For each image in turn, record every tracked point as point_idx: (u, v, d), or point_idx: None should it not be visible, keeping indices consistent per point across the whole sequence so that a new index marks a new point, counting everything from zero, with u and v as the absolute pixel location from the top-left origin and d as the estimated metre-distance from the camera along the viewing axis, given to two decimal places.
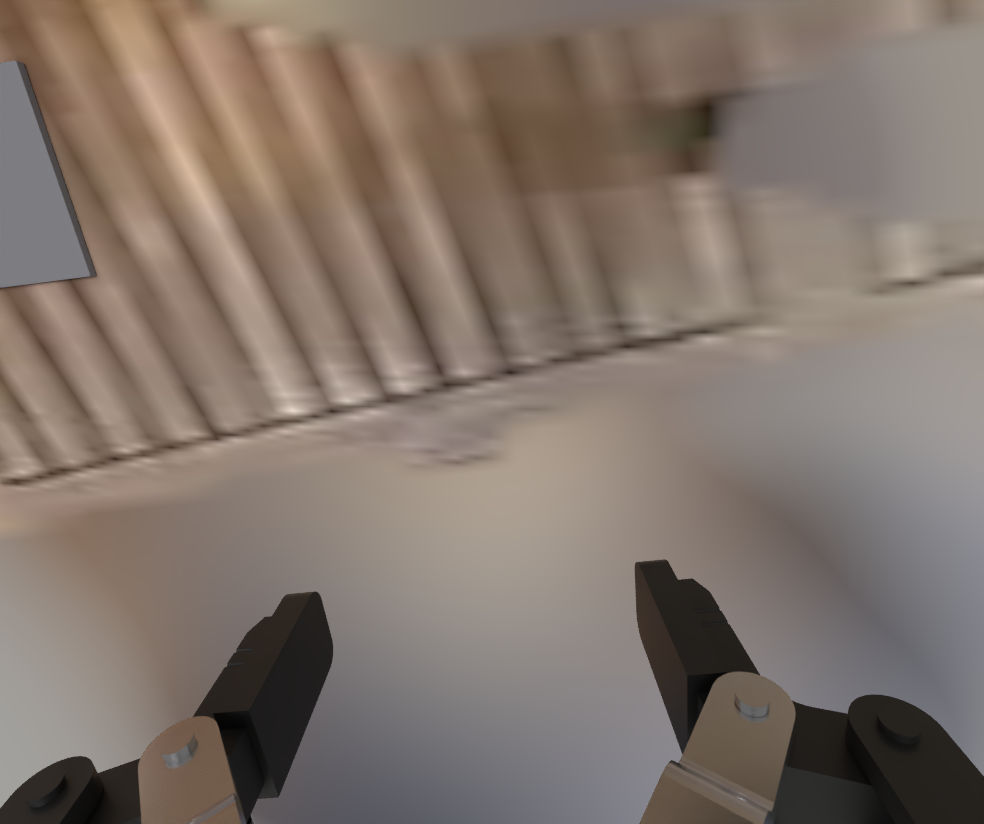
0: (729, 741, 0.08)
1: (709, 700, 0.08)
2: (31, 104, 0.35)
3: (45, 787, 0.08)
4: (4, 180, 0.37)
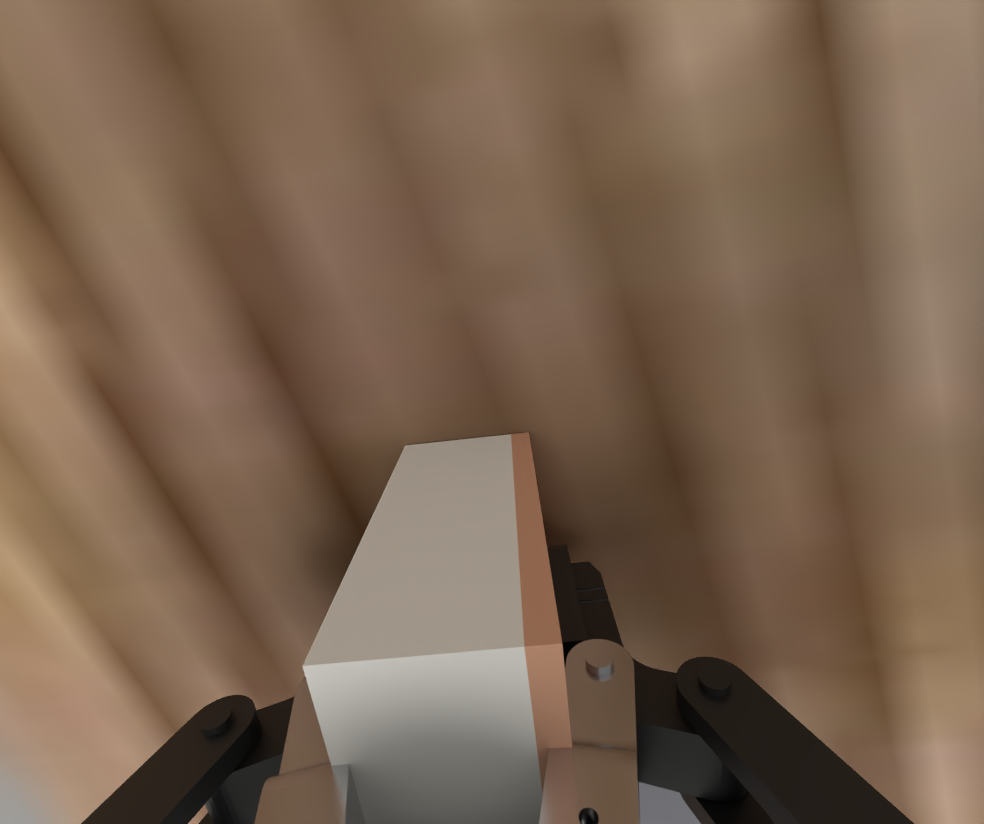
0: (591, 704, 0.09)
1: (567, 674, 0.09)
2: None
3: (216, 719, 0.09)
4: None
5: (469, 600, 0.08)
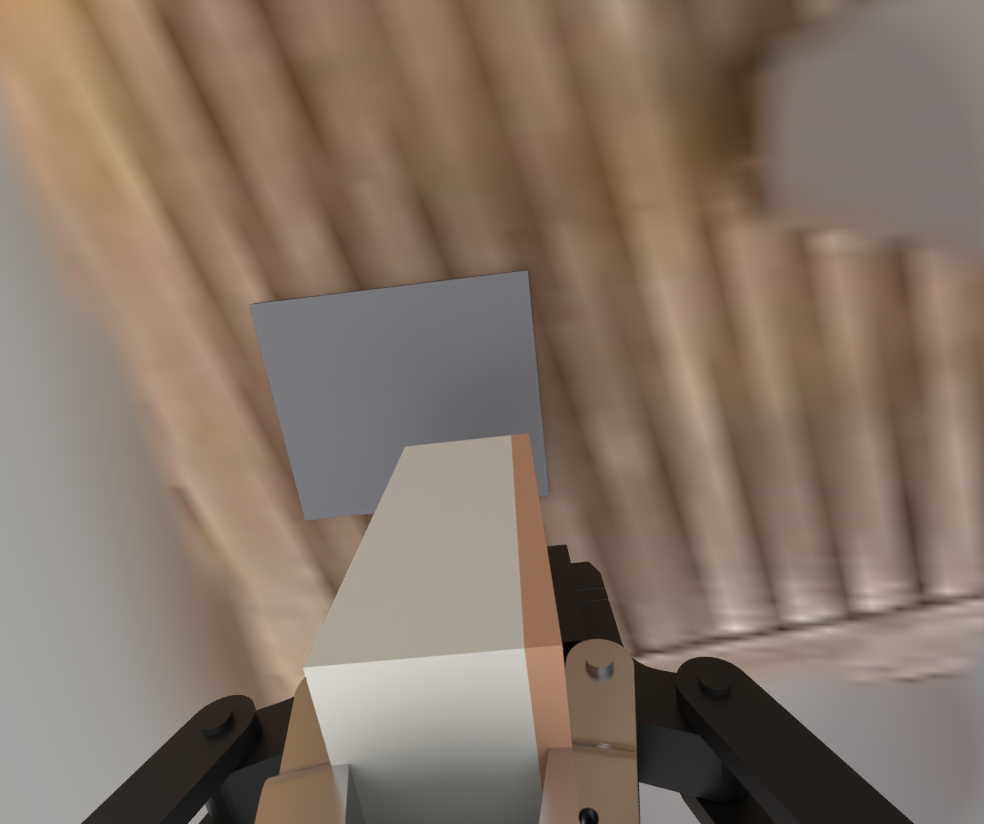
0: (591, 704, 0.09)
1: (567, 674, 0.09)
2: None
3: (216, 719, 0.09)
4: (476, 396, 0.31)
5: (469, 602, 0.08)
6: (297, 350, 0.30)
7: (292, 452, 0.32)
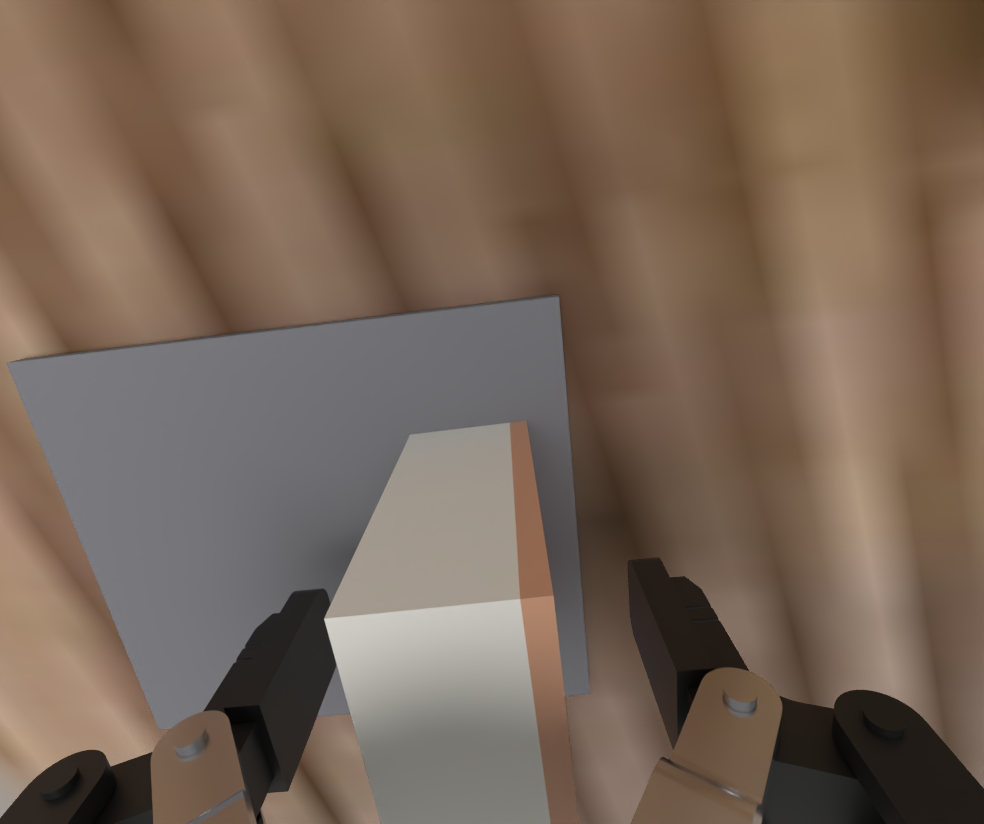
0: (718, 737, 0.08)
1: (698, 697, 0.08)
2: (565, 386, 0.15)
3: (60, 779, 0.08)
4: None
5: (471, 564, 0.09)
6: (112, 448, 0.16)
7: (123, 622, 0.18)
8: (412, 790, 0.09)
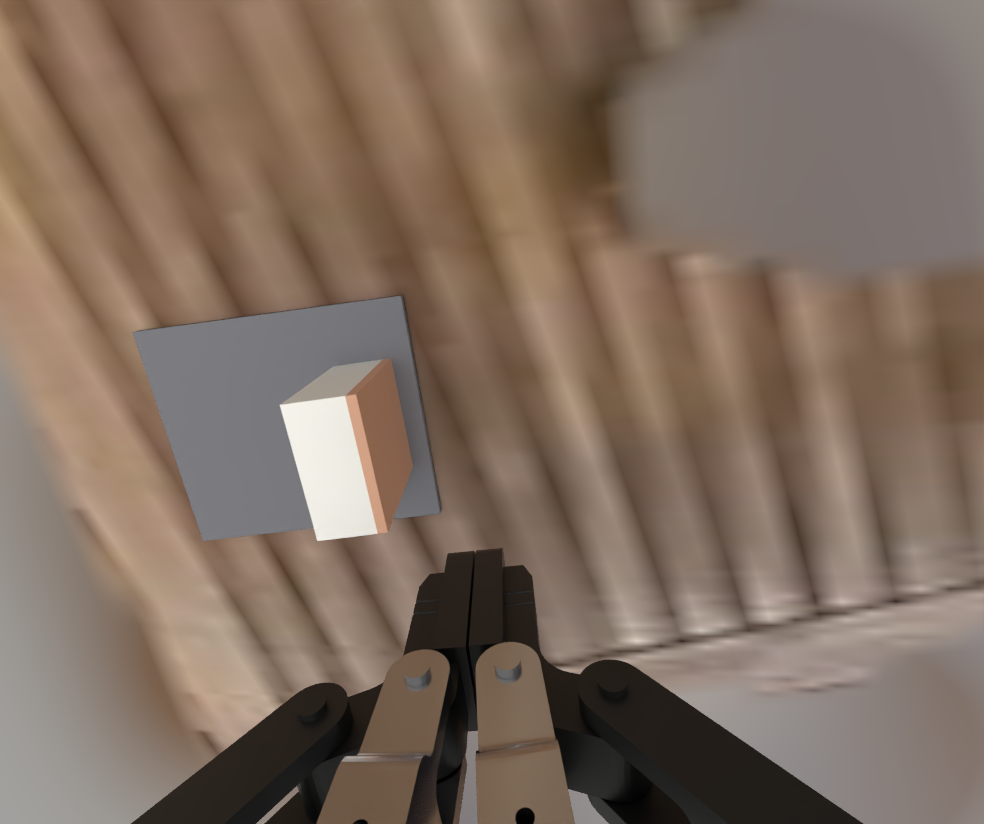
0: (506, 707, 0.09)
1: (478, 684, 0.09)
2: (409, 340, 0.30)
3: (311, 706, 0.09)
4: None
5: (334, 392, 0.24)
6: (183, 376, 0.31)
7: (185, 474, 0.33)
8: (315, 478, 0.24)
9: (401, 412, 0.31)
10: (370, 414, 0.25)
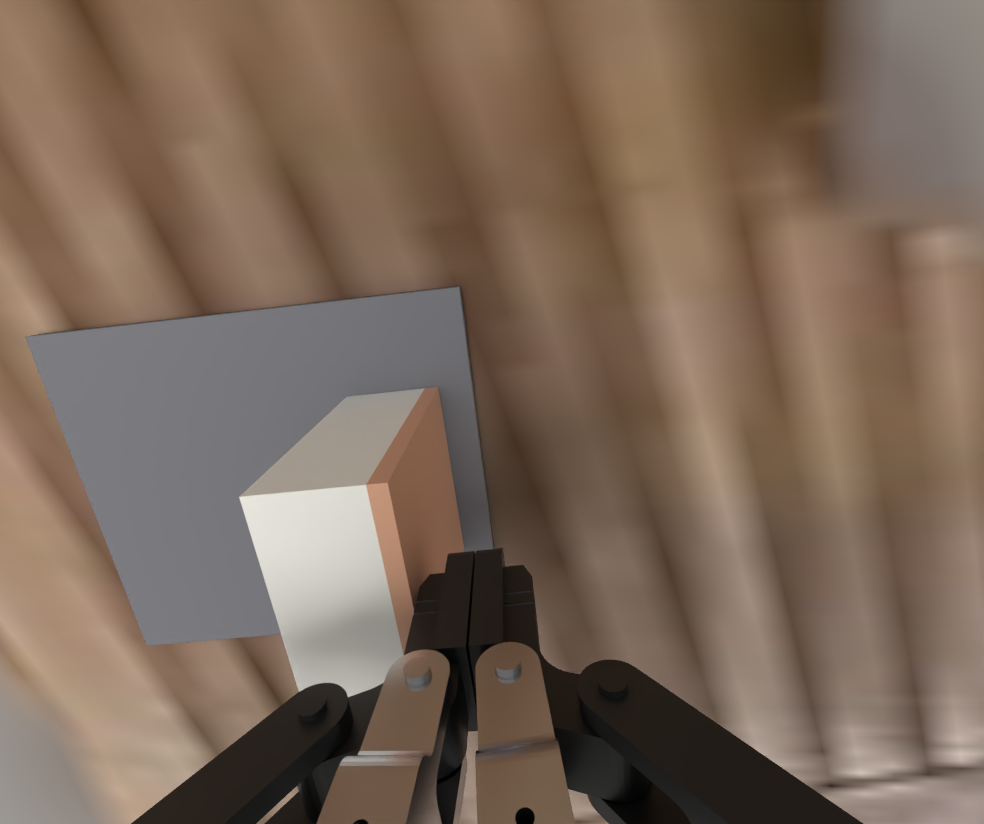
0: (506, 707, 0.09)
1: (478, 684, 0.09)
2: (468, 358, 0.19)
3: (311, 706, 0.09)
4: None
5: (345, 468, 0.13)
6: (108, 407, 0.20)
7: (117, 553, 0.22)
8: (306, 626, 0.13)
9: (450, 470, 0.20)
10: (410, 506, 0.13)
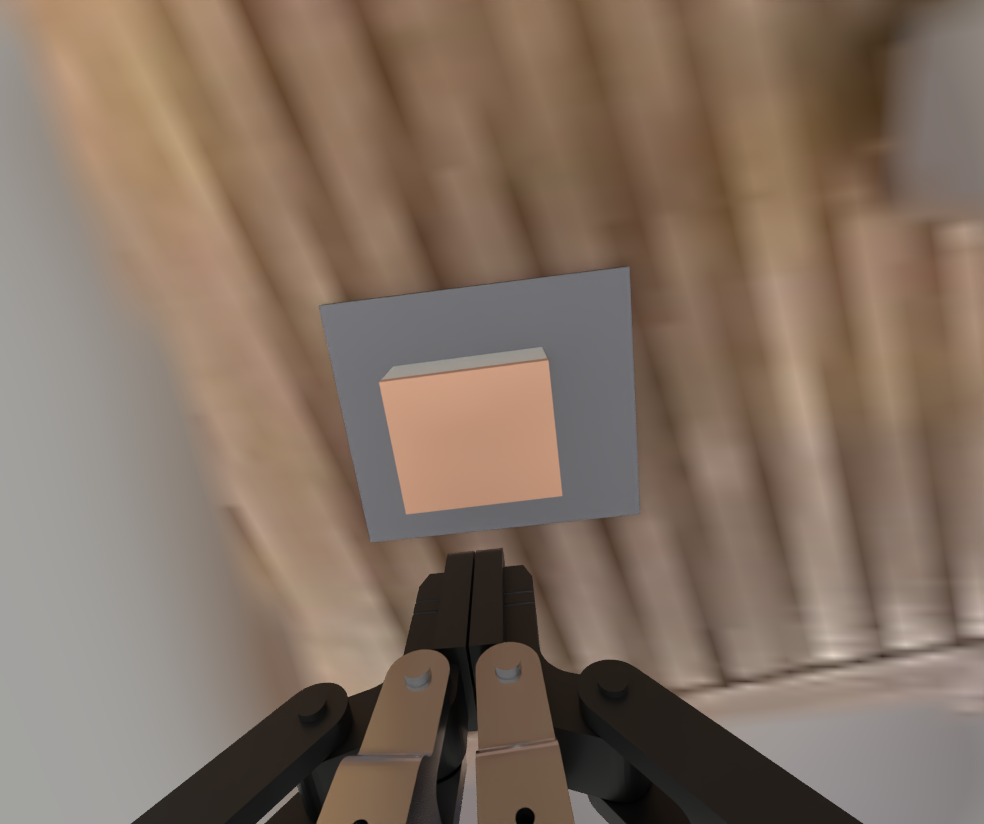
0: (506, 707, 0.09)
1: (478, 684, 0.09)
2: (631, 317, 0.27)
3: (311, 706, 0.09)
4: (565, 405, 0.28)
5: (405, 373, 0.25)
6: (370, 356, 0.27)
7: (359, 468, 0.29)
8: None
9: (551, 428, 0.25)
10: (415, 407, 0.25)
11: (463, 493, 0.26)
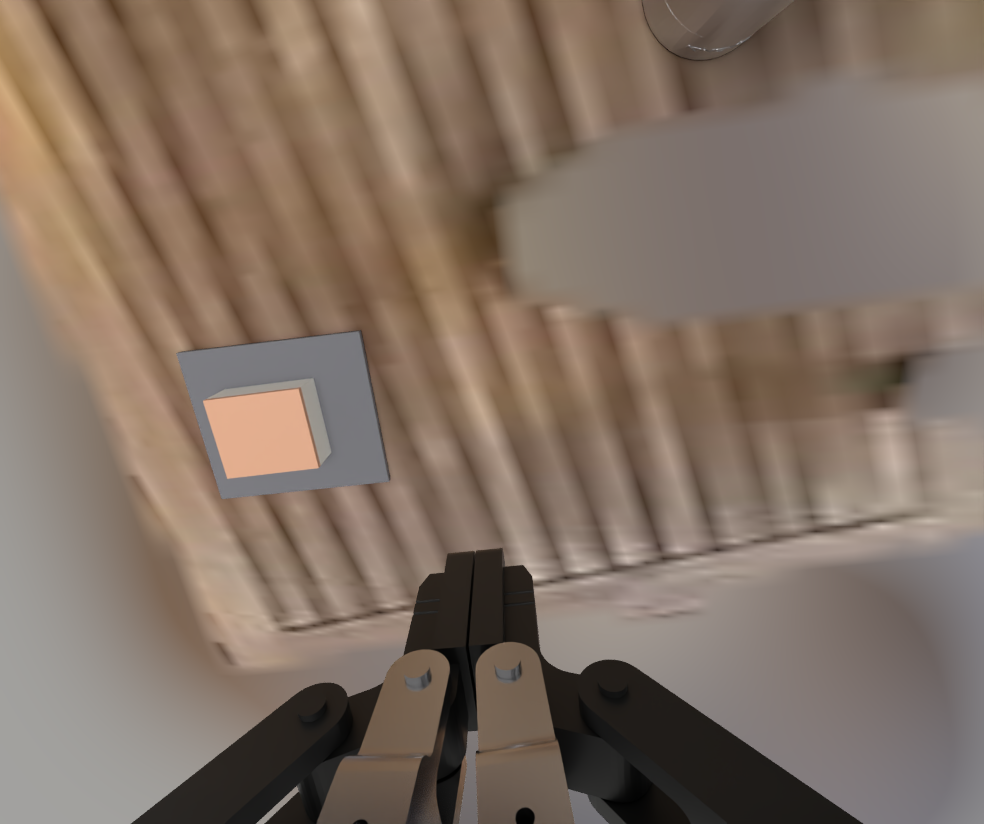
0: (506, 707, 0.09)
1: (478, 684, 0.09)
2: (365, 361, 0.44)
3: (311, 706, 0.09)
4: (332, 413, 0.46)
5: (223, 394, 0.43)
6: (210, 383, 0.45)
7: (210, 451, 0.47)
8: None
9: (306, 427, 0.43)
10: (225, 415, 0.42)
11: (259, 466, 0.44)
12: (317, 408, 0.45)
